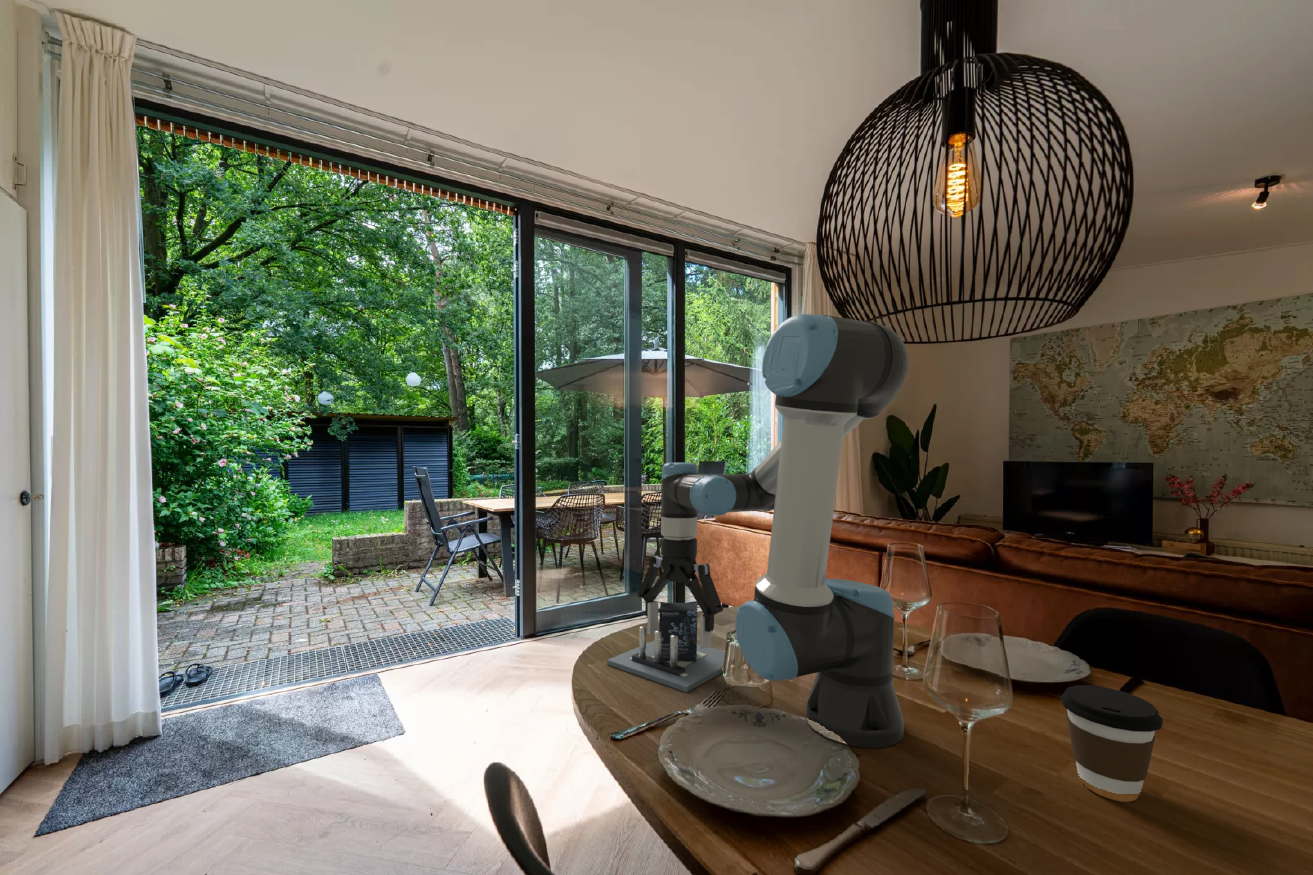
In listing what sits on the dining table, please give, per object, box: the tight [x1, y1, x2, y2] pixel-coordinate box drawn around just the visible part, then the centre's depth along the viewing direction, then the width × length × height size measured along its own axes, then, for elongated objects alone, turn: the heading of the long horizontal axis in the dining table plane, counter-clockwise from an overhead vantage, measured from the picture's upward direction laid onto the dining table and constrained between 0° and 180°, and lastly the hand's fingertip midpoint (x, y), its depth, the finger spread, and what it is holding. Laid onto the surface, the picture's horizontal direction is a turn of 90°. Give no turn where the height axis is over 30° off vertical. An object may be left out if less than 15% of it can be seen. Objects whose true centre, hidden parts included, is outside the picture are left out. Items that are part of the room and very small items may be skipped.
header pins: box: [632, 625, 685, 676], centre depth 117 cm, size 12×2×7 cm, turn 51°
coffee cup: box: [1060, 684, 1164, 794], centre depth 79 cm, size 11×11×12 cm
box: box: [658, 601, 698, 662], centre depth 122 cm, size 8×6×11 cm
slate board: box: [606, 639, 726, 693], centre depth 122 cm, size 20×20×1 cm
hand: (678, 639), depth 122 cm, fingers open, 13 cm apart
